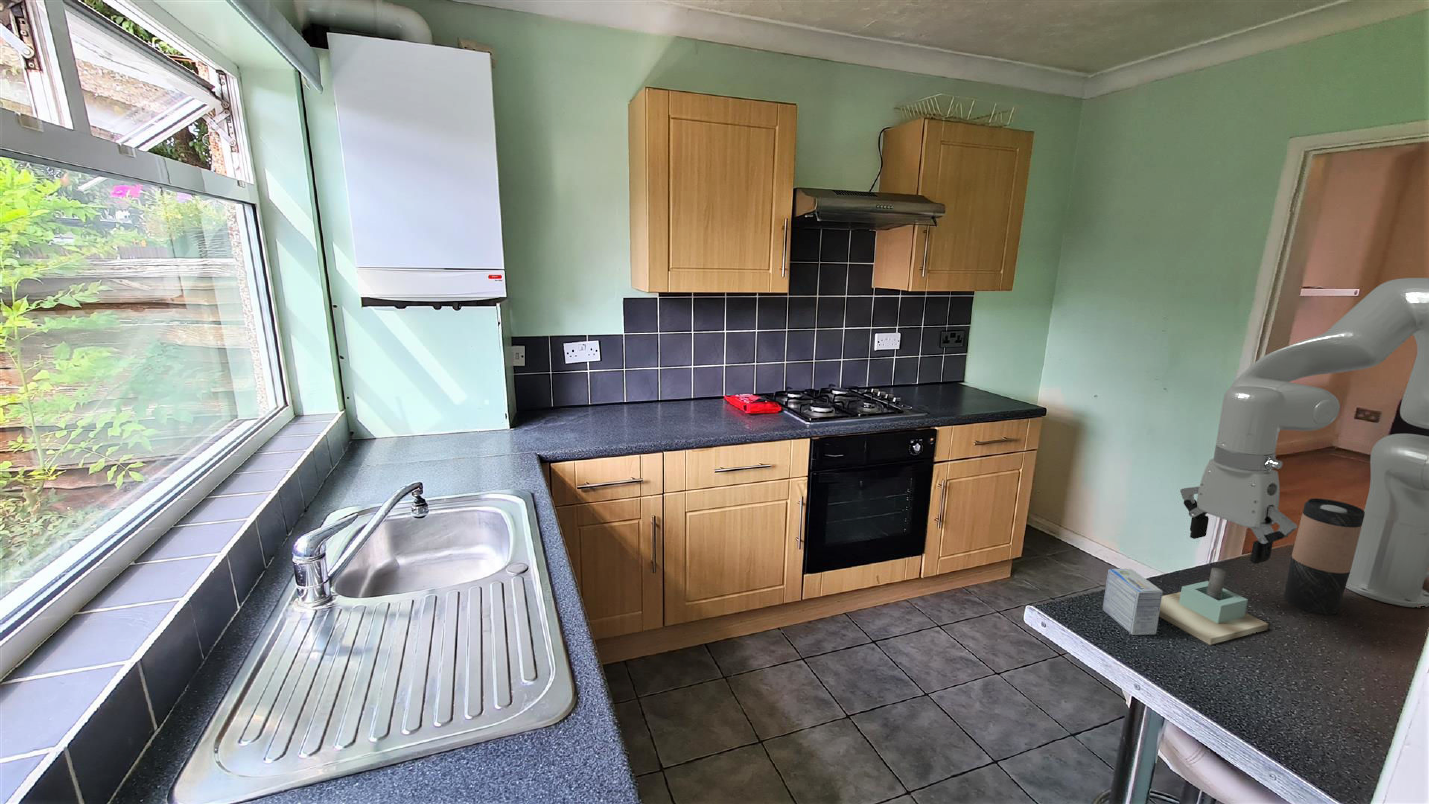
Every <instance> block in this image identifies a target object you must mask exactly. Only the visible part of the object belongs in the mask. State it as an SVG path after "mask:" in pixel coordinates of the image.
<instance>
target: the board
mask: <svg viewBox="0 0 1429 804" xmlns="http://www.w3.org/2000/svg"><path fill="white" fill-rule="evenodd" d="M1226 575H1227V571H1226V570H1224V569H1223V568H1219V567H1211V570H1210V575H1209V580H1208V581H1209V584H1208V589H1207V593H1206V595H1208V596H1210V597H1212V598H1214V599H1216V600H1218V601H1220V599H1221V595H1222V590H1223V588H1224V584H1225V580H1226ZM1180 595H1181V591H1179V592H1174V593H1171V594H1165V595H1162V600H1161V606H1160V612H1159V617H1160V618H1161V619H1163V620H1164V621H1166V622H1168V623H1169V624H1172V625H1173V626H1175V627H1177V628H1179V629H1181V630H1182V631H1184V632H1185V633H1187V634H1189V635H1191V636H1193V637H1194V638H1196V639H1198V640H1200V641H1202V642H1204V643H1205V644H1207V645H1209V646H1211V645H1215V644H1218V643H1223V642H1225V641H1230V640H1234V639H1238V638H1241V637H1245V636H1249V635H1253V634H1256V632H1257V633H1260V632H1264V631H1267V630H1268V627H1269V623H1267V622H1265V621H1263V620H1261V619H1259V618H1257V617H1255V616H1253V615H1251V614H1249V613H1247V612H1245V615H1244V617H1242V618H1238V619H1234V620H1230V621H1226V622H1222V623H1218V624H1217V623H1215V622H1214V621H1212V620H1210V619H1208V618H1206V617H1204V616H1202V615H1200V614H1198V613H1196V612H1194V611H1192V610H1191V609H1189V608H1187V607H1185V606H1183V605H1181V604H1179V600H1180ZM1252 633H1253V634H1252Z"/></svg>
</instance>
